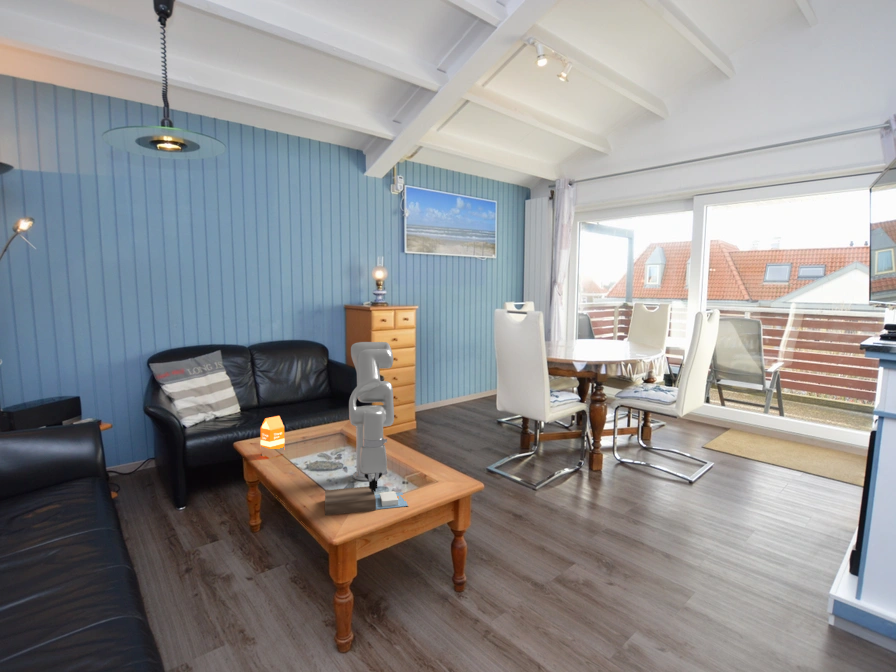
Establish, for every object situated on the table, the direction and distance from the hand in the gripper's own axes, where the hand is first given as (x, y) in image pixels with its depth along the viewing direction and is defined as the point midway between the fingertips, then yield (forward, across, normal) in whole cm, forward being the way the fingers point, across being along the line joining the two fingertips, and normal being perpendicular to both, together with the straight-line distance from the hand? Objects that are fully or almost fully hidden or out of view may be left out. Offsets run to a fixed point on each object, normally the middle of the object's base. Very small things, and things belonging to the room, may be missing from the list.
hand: (373, 490), depth 173 cm
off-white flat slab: (+4, -6, +1) cm, 7 cm away
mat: (+5, -6, 0) cm, 8 cm away
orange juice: (+5, +45, -75) cm, 87 cm away
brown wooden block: (+5, +9, 0) cm, 10 cm away
